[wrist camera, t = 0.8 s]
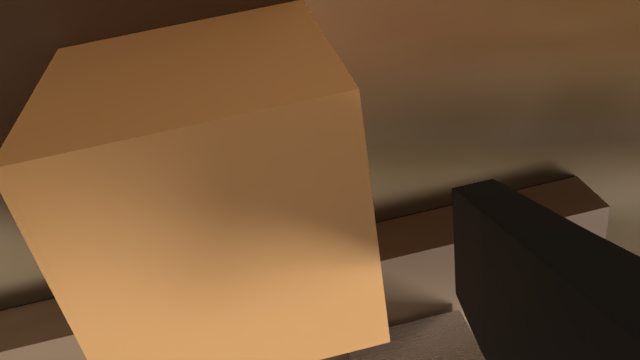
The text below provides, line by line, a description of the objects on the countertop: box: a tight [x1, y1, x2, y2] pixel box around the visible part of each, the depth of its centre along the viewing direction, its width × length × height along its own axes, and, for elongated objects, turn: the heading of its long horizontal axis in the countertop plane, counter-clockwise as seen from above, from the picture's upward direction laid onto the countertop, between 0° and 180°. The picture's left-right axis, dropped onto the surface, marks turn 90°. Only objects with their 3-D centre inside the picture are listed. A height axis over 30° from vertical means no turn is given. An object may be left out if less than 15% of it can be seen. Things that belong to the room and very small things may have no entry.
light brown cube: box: [0, 0, 390, 360], centre depth 11 cm, size 5×5×5 cm
